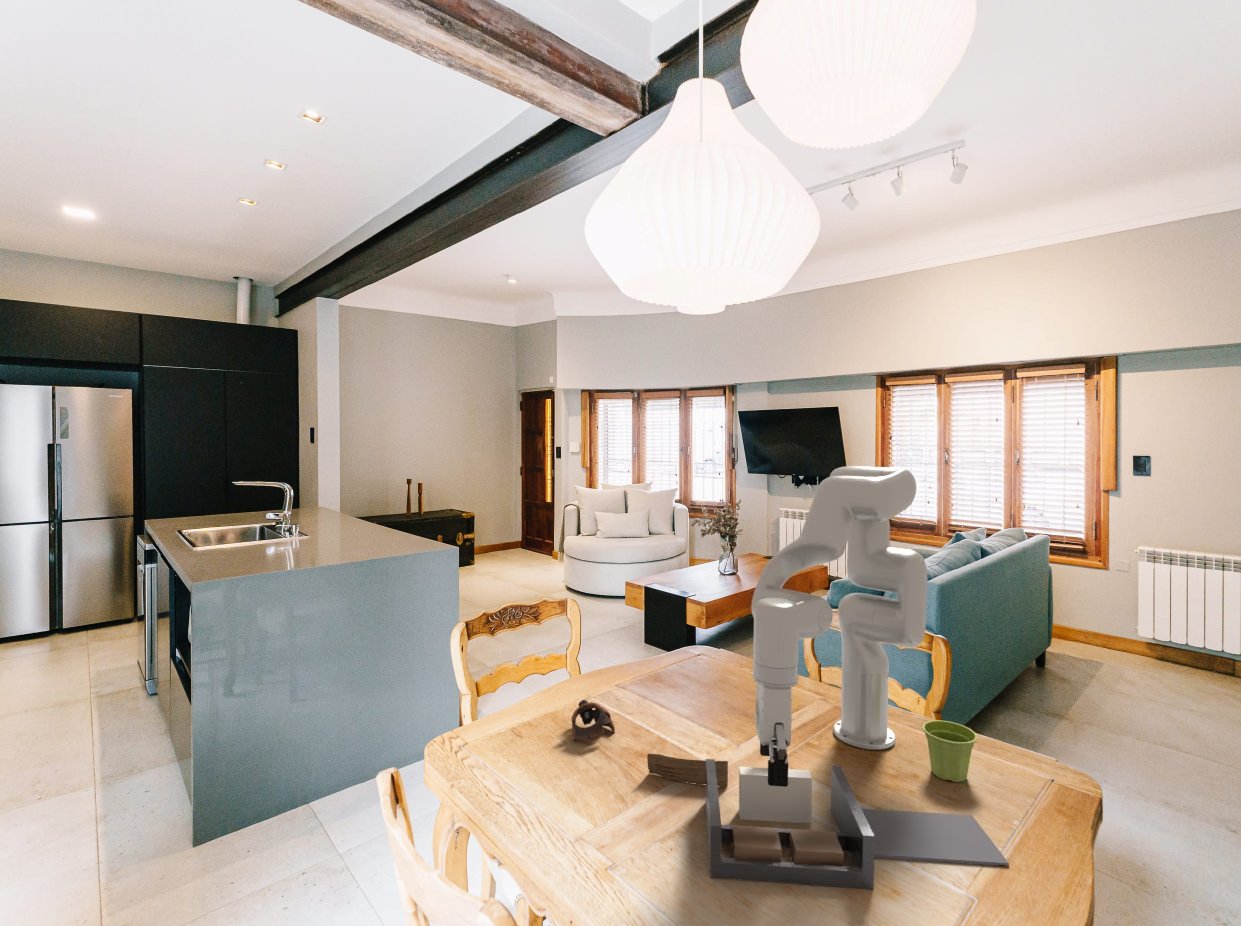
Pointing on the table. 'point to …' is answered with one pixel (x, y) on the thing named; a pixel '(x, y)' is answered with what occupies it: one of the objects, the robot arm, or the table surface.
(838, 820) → the rack
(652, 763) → the wood plank
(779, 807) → the white rectangular brick
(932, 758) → the plant pot
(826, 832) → the offcut
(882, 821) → the mat
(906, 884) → the table surface
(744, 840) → the offcut
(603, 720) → the pottery mug
